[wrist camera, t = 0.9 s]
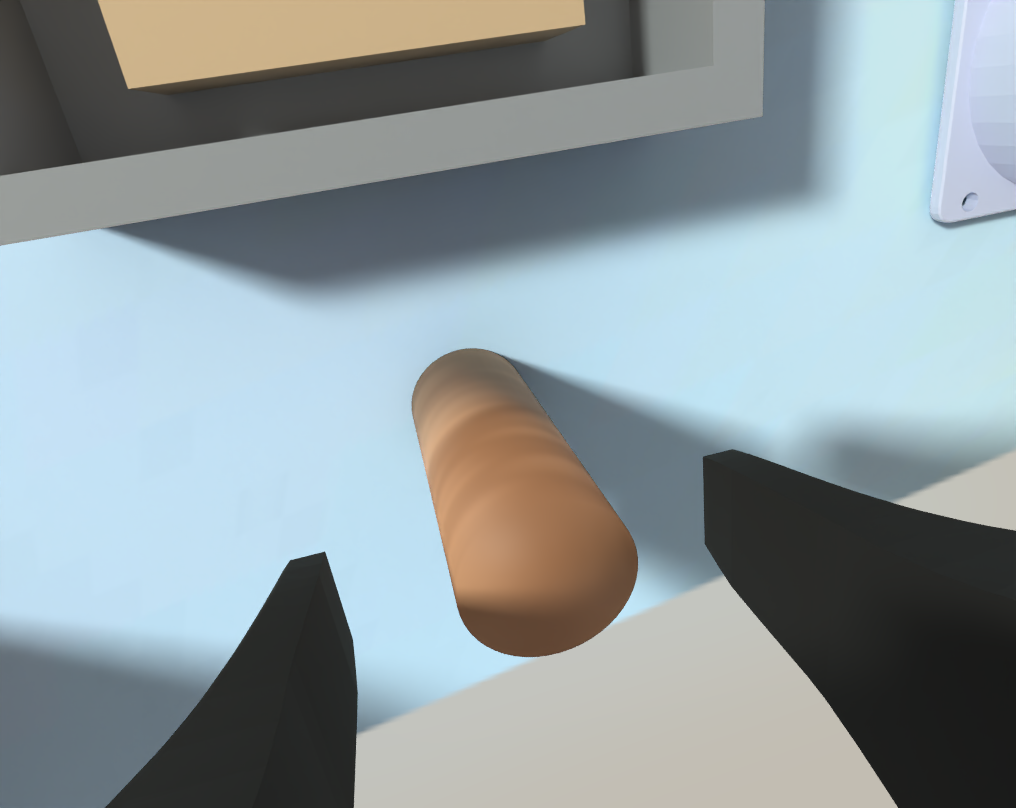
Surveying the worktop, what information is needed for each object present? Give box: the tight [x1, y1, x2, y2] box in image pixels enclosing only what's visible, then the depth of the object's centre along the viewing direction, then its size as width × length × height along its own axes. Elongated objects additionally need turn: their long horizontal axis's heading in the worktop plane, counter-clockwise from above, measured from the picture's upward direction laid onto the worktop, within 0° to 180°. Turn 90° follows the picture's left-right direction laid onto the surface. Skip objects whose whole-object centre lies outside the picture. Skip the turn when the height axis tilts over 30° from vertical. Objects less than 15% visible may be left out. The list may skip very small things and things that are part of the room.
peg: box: [412, 348, 638, 657], centre depth 15 cm, size 3×3×8 cm
